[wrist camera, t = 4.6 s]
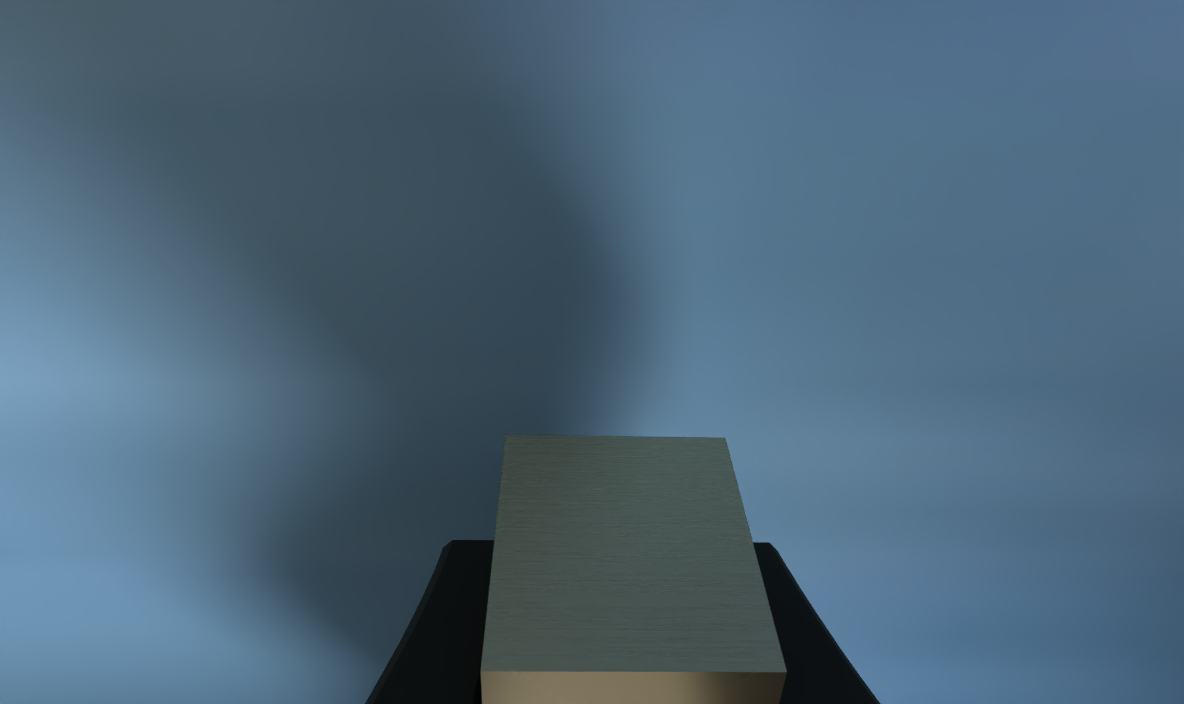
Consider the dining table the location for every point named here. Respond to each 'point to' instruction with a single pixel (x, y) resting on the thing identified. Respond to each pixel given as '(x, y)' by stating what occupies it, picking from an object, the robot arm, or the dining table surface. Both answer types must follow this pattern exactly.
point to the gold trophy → (625, 577)
